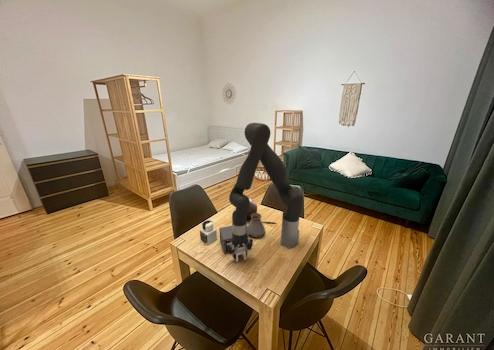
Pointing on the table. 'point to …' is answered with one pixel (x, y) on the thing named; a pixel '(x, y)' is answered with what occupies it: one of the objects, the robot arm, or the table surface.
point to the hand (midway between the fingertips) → (240, 257)
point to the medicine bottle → (208, 232)
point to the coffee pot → (256, 226)
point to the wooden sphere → (251, 208)
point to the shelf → (226, 236)
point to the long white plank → (239, 252)
